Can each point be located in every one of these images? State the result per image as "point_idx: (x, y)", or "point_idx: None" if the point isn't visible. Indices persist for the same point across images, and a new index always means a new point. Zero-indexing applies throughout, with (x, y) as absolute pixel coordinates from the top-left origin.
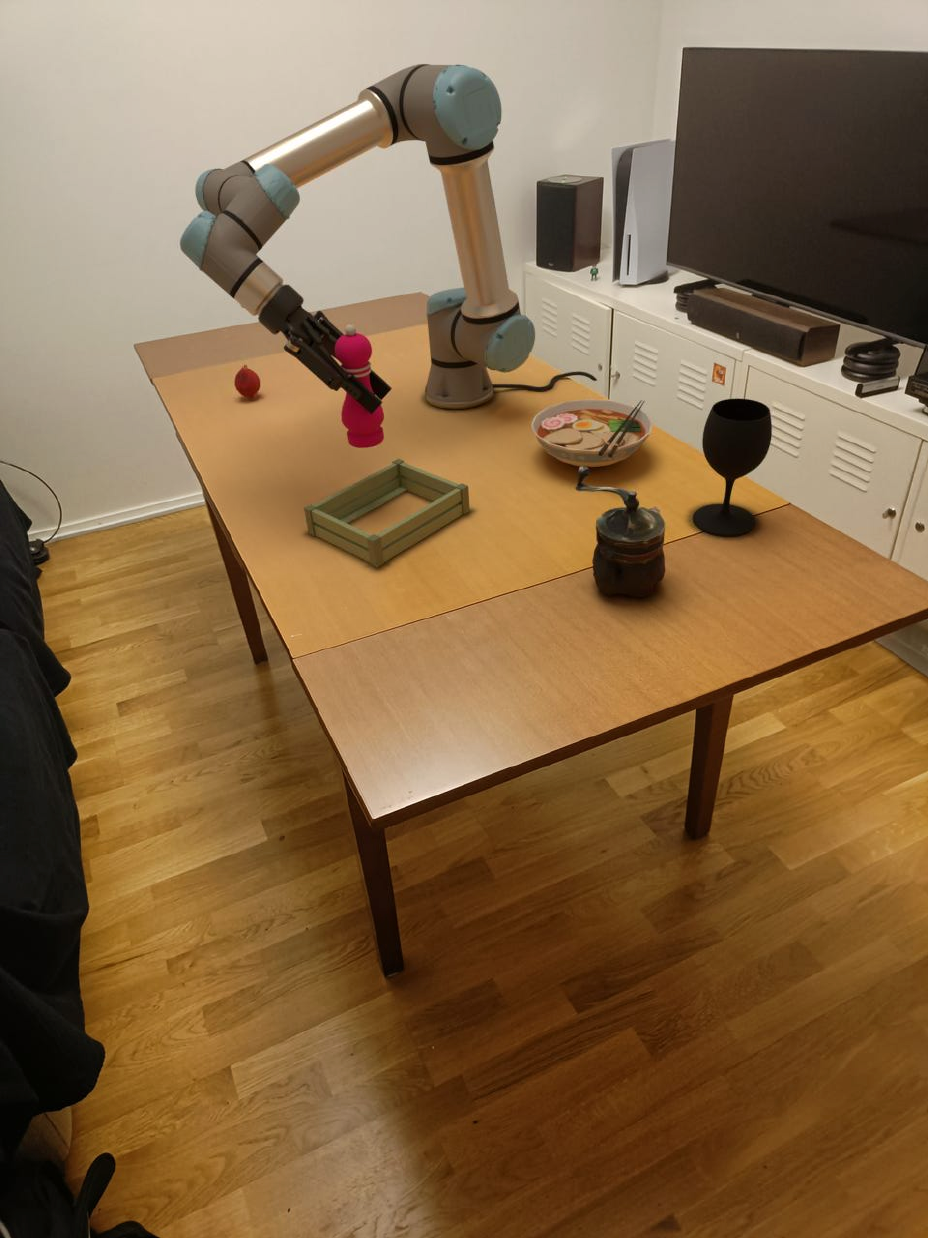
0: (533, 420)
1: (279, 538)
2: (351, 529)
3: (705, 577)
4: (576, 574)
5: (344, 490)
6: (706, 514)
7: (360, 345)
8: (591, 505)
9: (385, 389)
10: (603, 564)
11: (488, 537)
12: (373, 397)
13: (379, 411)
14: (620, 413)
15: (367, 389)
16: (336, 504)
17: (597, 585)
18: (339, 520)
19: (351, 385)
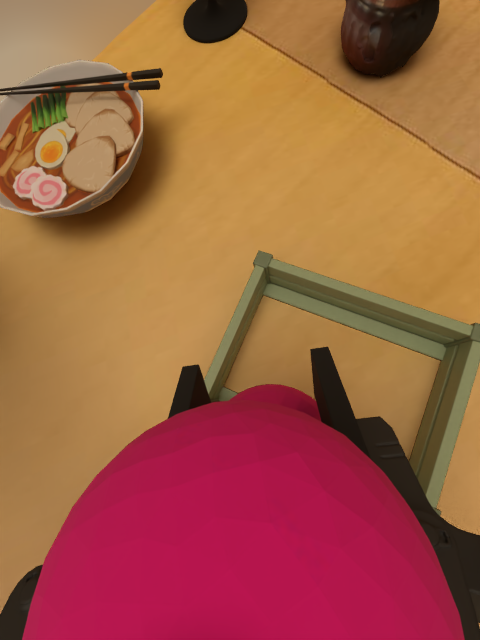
0: (49, 211)
1: None
2: (470, 388)
3: (330, 3)
4: (371, 103)
5: None
6: (212, 26)
7: (340, 478)
8: (210, 137)
9: (201, 384)
10: (430, 10)
11: (322, 222)
12: (337, 373)
13: (276, 387)
14: (9, 126)
15: (336, 402)
16: None
17: (405, 62)
18: (448, 427)
19: (408, 475)
